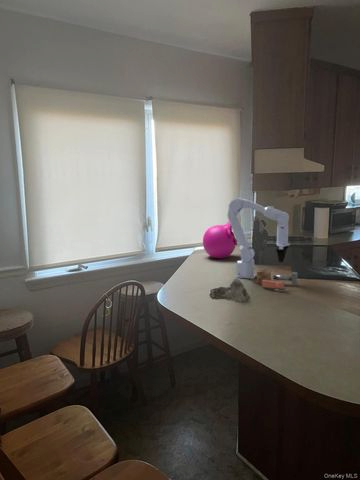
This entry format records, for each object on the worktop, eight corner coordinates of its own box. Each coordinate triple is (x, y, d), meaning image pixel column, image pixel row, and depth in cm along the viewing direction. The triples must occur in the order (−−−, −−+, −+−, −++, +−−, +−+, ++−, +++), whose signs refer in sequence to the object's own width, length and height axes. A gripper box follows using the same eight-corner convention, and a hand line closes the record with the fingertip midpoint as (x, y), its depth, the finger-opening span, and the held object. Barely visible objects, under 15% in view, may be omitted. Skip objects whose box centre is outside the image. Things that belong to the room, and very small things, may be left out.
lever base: (273, 291, 166) (273, 289, 166) (274, 288, 171) (274, 286, 171) (284, 292, 164) (284, 290, 164) (285, 289, 169) (285, 287, 169)
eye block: (256, 283, 179) (257, 271, 178) (258, 279, 186) (259, 268, 185) (268, 284, 177) (269, 272, 176) (270, 280, 184) (270, 269, 183)
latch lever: (282, 290, 165) (282, 283, 164) (261, 286, 171) (261, 280, 170) (284, 288, 168) (284, 282, 167) (263, 284, 173) (263, 279, 173)
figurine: (239, 261, 233) (240, 224, 229) (203, 261, 233) (203, 224, 229) (234, 254, 256) (235, 220, 252) (202, 254, 256) (202, 220, 252)
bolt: (273, 283, 178) (273, 272, 177) (273, 281, 182) (274, 270, 181) (296, 285, 174) (296, 274, 173) (296, 283, 178) (297, 272, 177)
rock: (250, 293, 162) (248, 276, 157) (248, 308, 153) (246, 290, 148) (213, 292, 167) (210, 275, 163) (208, 307, 159) (205, 289, 154)
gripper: (289, 237, 175) (288, 263, 177) (291, 233, 189) (290, 258, 191) (275, 236, 178) (274, 262, 180) (277, 233, 191) (277, 257, 193)
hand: (281, 260), depth 186 cm, fingers open, 7 cm apart
